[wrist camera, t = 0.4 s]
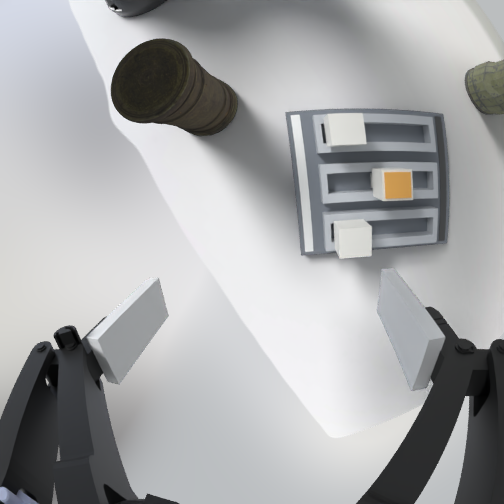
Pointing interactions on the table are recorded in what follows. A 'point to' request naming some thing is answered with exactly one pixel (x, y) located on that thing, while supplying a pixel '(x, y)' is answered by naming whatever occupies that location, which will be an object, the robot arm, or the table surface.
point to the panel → (367, 179)
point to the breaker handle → (392, 184)
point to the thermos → (487, 87)
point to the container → (171, 89)
